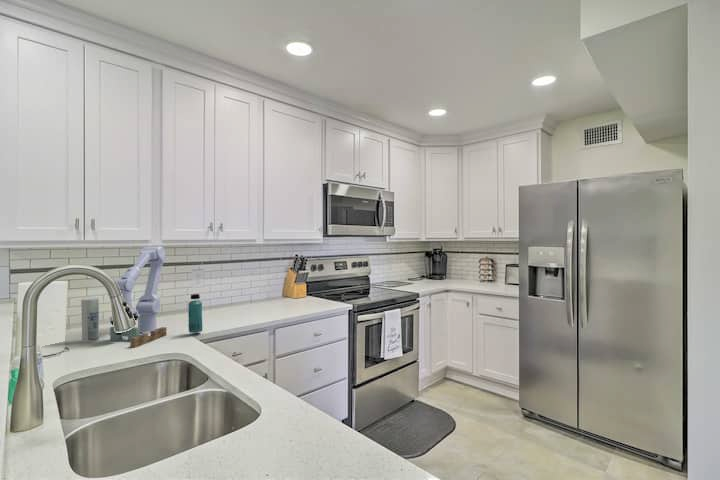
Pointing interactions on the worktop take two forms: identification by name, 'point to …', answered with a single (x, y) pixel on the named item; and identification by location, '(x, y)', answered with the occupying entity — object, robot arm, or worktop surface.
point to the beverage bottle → (195, 315)
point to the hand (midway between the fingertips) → (124, 332)
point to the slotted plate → (124, 333)
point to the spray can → (90, 319)
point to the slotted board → (147, 337)
